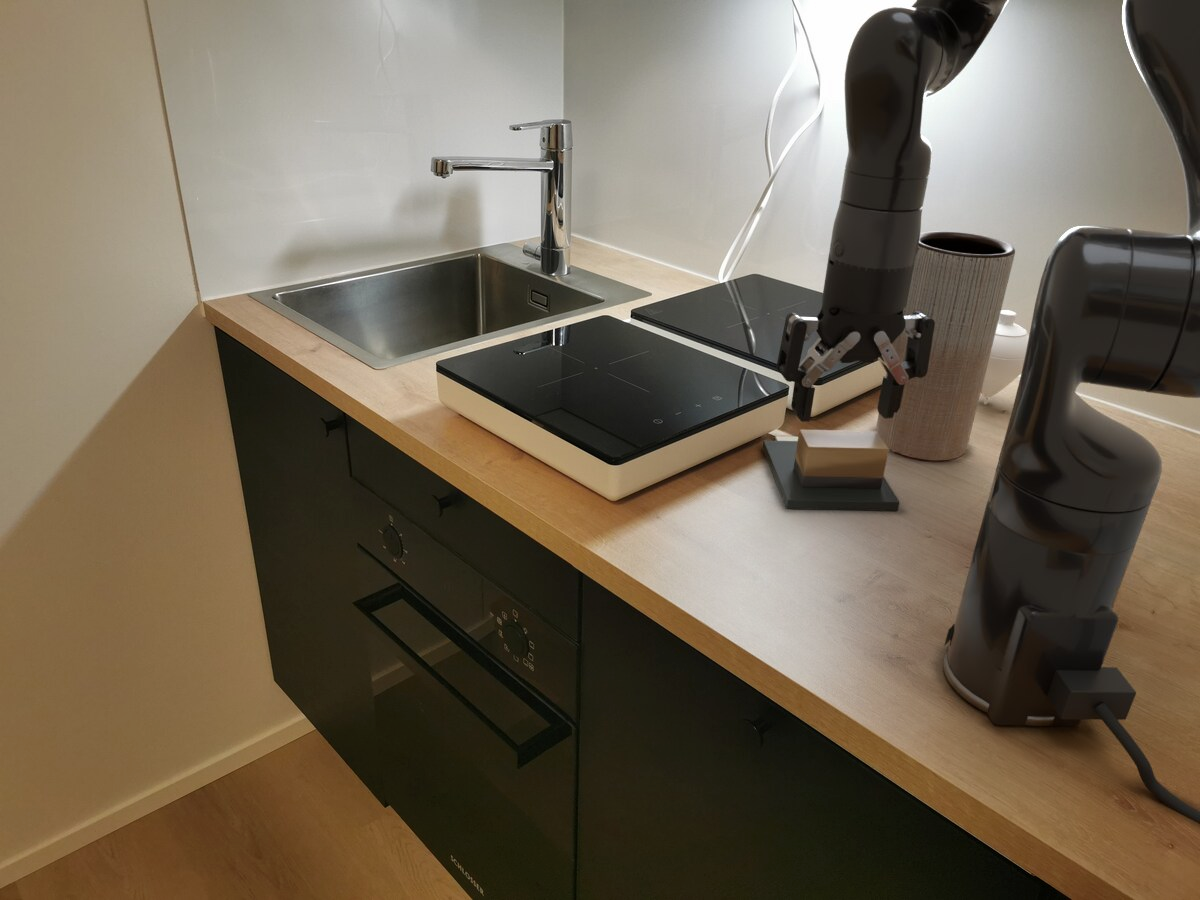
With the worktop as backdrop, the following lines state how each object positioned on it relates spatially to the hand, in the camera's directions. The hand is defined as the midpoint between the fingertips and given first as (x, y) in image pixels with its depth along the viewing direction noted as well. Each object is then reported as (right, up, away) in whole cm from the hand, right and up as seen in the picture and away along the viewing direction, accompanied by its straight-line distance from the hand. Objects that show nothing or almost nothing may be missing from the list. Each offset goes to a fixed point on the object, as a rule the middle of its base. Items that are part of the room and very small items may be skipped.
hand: (843, 416), depth 89 cm
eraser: (0, -6, +3) cm, 7 cm away
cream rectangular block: (-2, -2, +13) cm, 13 cm away
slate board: (0, -6, +5) cm, 8 cm away
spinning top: (+24, +2, +24) cm, 34 cm away
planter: (+12, -2, +14) cm, 19 cm away
